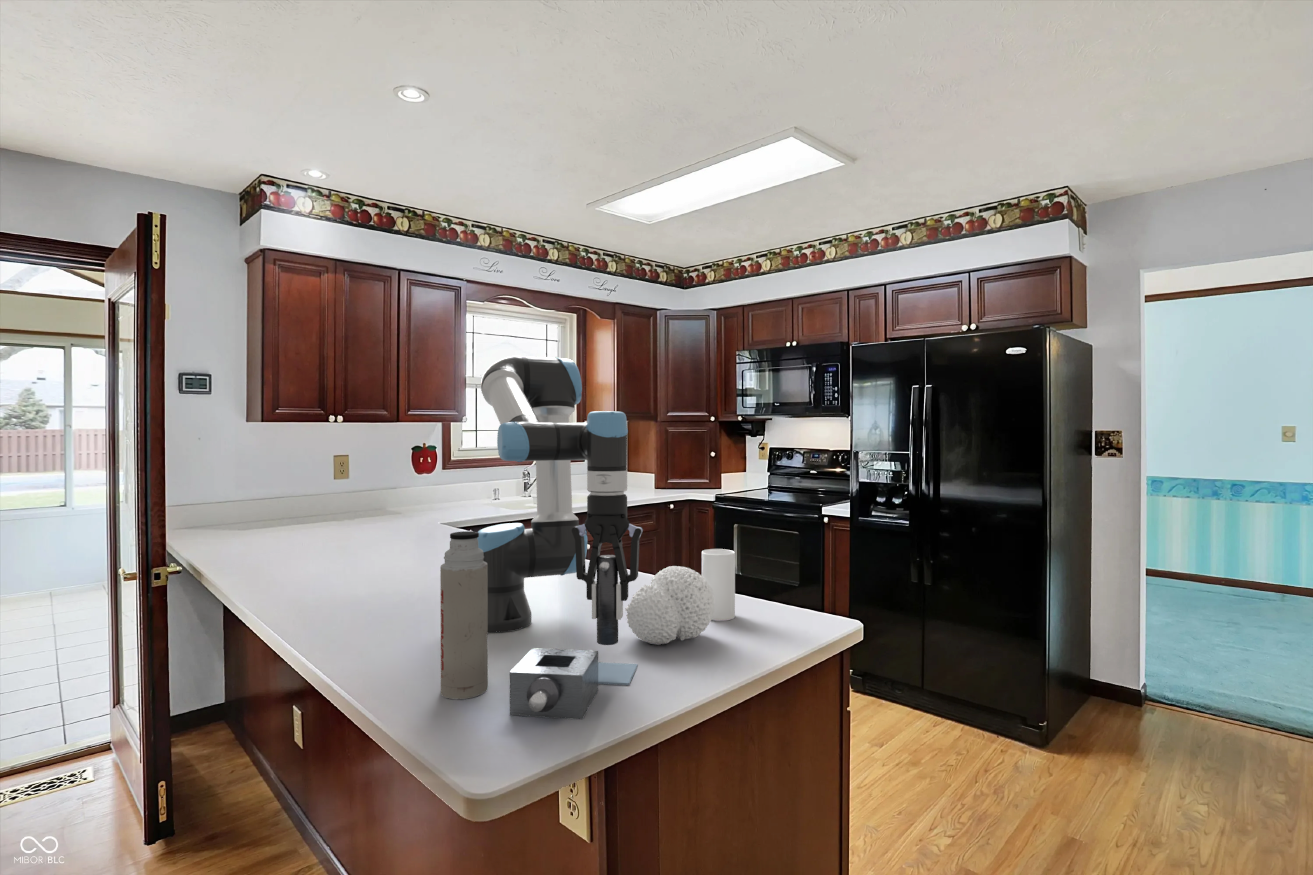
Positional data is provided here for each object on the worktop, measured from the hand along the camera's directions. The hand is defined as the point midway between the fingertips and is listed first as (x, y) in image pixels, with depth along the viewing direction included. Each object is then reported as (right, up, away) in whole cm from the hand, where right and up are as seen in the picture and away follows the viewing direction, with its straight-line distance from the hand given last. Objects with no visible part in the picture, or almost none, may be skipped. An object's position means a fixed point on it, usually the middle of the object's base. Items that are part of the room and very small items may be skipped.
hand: (607, 616), depth 126 cm
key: (0, -5, 0) cm, 5 cm away
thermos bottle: (-25, -11, -8) cm, 28 cm away
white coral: (+13, -11, +21) cm, 27 cm away
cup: (+24, -11, +40) cm, 48 cm away
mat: (0, -11, 0) cm, 11 cm away
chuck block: (-8, -11, -15) cm, 21 cm away
